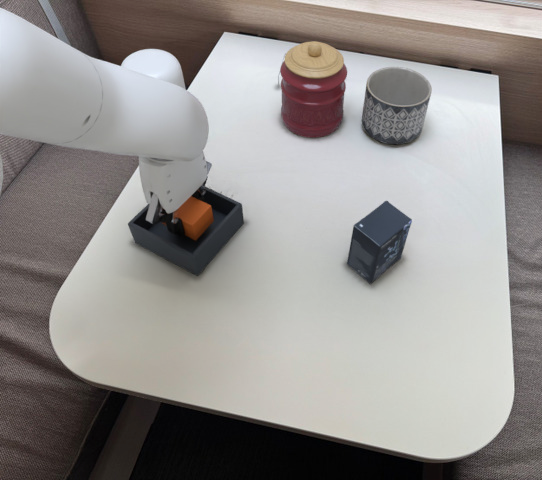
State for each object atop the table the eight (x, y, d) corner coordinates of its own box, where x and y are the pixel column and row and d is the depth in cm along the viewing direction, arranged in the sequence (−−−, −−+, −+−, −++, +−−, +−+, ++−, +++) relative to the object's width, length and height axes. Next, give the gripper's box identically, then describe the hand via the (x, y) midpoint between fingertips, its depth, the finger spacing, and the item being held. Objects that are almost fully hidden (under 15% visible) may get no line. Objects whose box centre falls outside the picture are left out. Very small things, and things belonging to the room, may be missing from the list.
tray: (197, 276, 84) (192, 258, 80) (134, 242, 88) (127, 223, 84) (244, 222, 92) (241, 203, 88) (184, 193, 95) (179, 174, 91)
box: (370, 285, 85) (379, 246, 76) (346, 264, 87) (351, 224, 79) (401, 259, 88) (413, 219, 80) (377, 239, 91) (386, 198, 82)
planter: (389, 156, 104) (398, 115, 95) (348, 123, 109) (353, 81, 101) (433, 132, 109) (445, 90, 101) (392, 101, 115) (399, 59, 106)
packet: (195, 241, 85) (192, 225, 82) (162, 223, 87) (157, 208, 84) (214, 221, 88) (211, 205, 85) (181, 204, 90) (177, 188, 87)
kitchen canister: (279, 100, 113) (278, 24, 99) (338, 98, 114) (345, 23, 100) (282, 140, 105) (281, 63, 91) (346, 138, 106) (354, 62, 92)
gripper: (184, 97, 79) (201, 181, 93) (103, 164, 69) (135, 246, 84) (225, 114, 77) (235, 197, 91) (147, 186, 67) (172, 266, 82)
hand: (187, 220), depth 87 cm, fingers closed on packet, 5 cm apart
